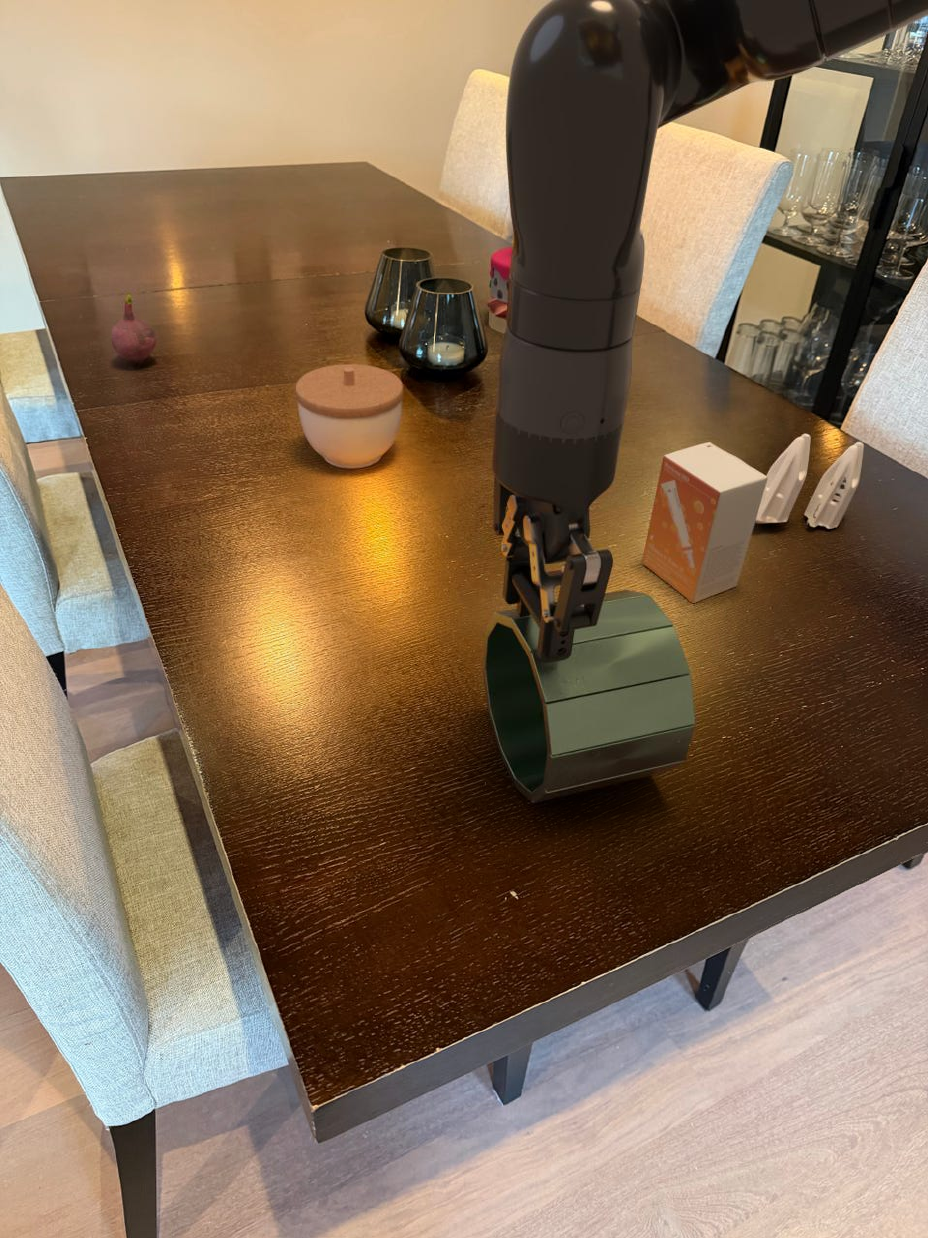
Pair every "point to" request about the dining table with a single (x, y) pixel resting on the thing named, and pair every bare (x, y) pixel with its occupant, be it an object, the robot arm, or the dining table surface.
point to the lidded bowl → (350, 412)
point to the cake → (499, 288)
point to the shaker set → (828, 494)
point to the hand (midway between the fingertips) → (534, 627)
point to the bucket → (587, 696)
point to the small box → (702, 520)
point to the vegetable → (133, 336)
